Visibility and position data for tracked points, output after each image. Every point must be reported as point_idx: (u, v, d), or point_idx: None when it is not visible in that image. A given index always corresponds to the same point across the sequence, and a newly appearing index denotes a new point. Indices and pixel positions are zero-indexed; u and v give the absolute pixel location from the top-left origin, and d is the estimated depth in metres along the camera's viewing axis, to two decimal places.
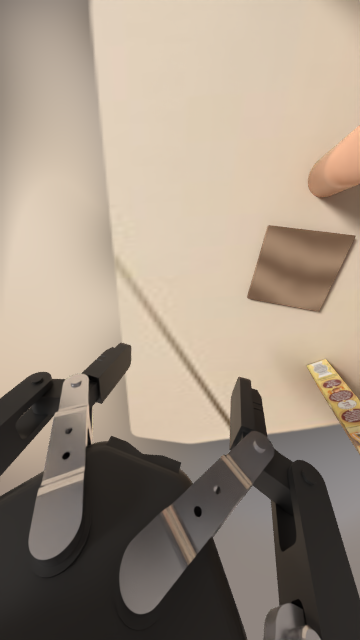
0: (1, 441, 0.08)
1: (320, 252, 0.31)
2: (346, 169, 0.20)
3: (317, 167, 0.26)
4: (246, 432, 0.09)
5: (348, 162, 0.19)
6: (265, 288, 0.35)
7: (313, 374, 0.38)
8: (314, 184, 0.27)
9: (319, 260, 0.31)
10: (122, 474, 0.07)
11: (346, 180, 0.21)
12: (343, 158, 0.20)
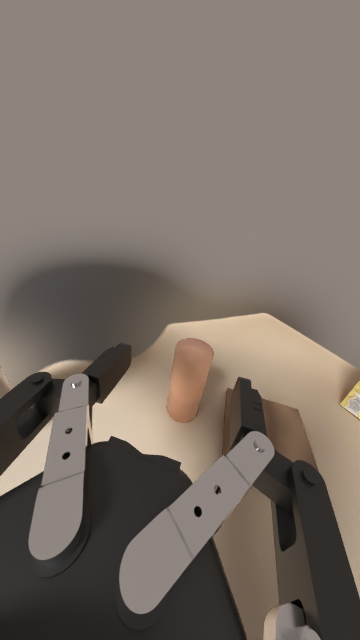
0: (1, 441, 0.08)
1: None
2: (202, 376, 0.26)
3: (179, 410, 0.29)
4: (246, 432, 0.09)
5: (200, 374, 0.25)
6: None
7: None
8: (190, 413, 0.30)
9: None
10: (122, 474, 0.07)
11: (205, 380, 0.27)
12: (194, 379, 0.26)
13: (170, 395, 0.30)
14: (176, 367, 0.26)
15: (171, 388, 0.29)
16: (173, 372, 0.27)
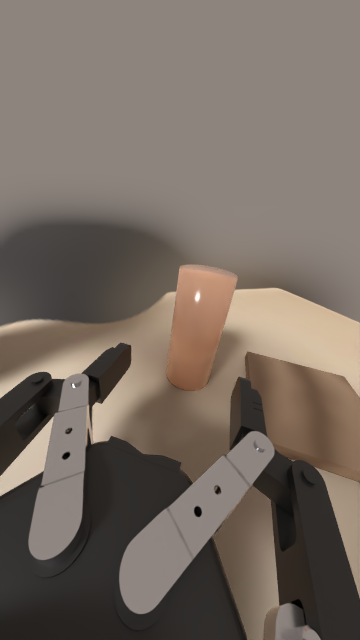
0: (1, 441, 0.08)
1: (273, 375, 0.24)
2: (221, 311, 0.17)
3: (185, 370, 0.20)
4: (246, 432, 0.09)
5: (218, 304, 0.16)
6: None
7: None
8: (200, 376, 0.20)
9: (282, 376, 0.24)
10: (122, 474, 0.07)
11: (224, 321, 0.18)
12: (209, 313, 0.17)
13: (171, 350, 0.20)
14: (180, 298, 0.17)
15: (173, 338, 0.20)
16: (176, 310, 0.18)
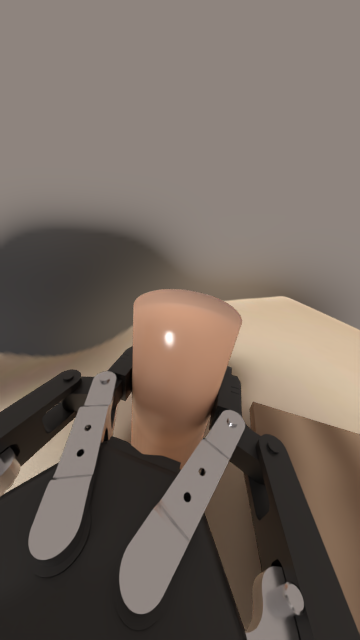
0: (27, 432, 0.08)
1: (293, 450, 0.16)
2: (210, 384, 0.09)
3: None
4: (222, 412, 0.10)
5: (203, 377, 0.08)
6: None
7: None
8: None
9: (307, 450, 0.16)
10: (122, 474, 0.07)
11: (217, 393, 0.10)
12: (187, 391, 0.09)
13: (132, 426, 0.13)
14: (135, 357, 0.09)
15: (132, 411, 0.12)
16: (133, 372, 0.10)
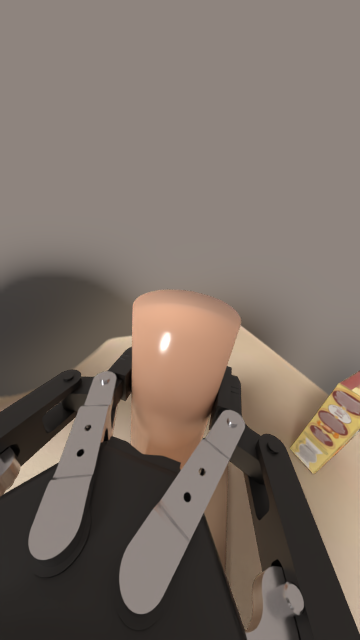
0: (27, 432, 0.08)
1: None
2: (209, 384, 0.09)
3: None
4: (222, 412, 0.10)
5: (202, 377, 0.08)
6: None
7: (322, 461, 0.26)
8: None
9: None
10: (122, 474, 0.07)
11: (216, 393, 0.10)
12: (186, 392, 0.09)
13: (132, 427, 0.13)
14: (134, 358, 0.09)
15: (132, 411, 0.12)
16: (132, 372, 0.10)
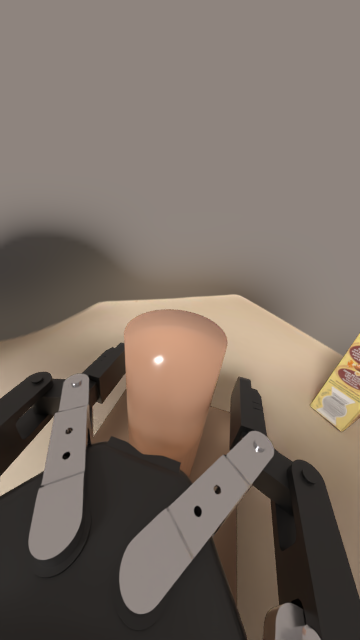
0: (1, 441, 0.08)
1: None
2: (198, 404, 0.09)
3: None
4: (246, 432, 0.09)
5: (191, 399, 0.09)
6: None
7: (354, 413, 0.21)
8: None
9: None
10: (122, 474, 0.07)
11: (207, 410, 0.11)
12: (176, 413, 0.09)
13: (129, 440, 0.13)
14: (127, 380, 0.10)
15: (128, 426, 0.12)
16: (127, 391, 0.11)
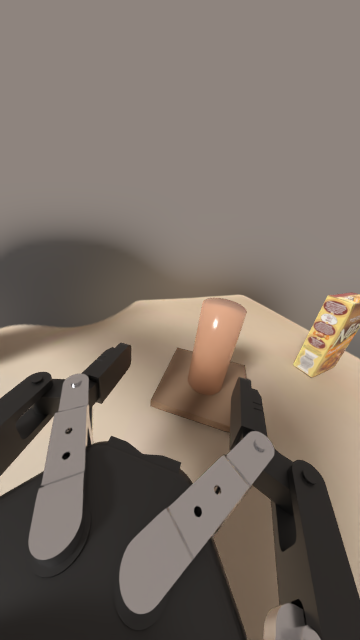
0: (1, 441, 0.08)
1: (187, 364, 0.32)
2: (234, 336, 0.23)
3: (205, 380, 0.26)
4: (246, 432, 0.09)
5: (232, 332, 0.22)
6: (229, 408, 0.25)
7: (317, 363, 0.34)
8: (217, 384, 0.26)
9: None
10: (122, 474, 0.07)
11: None
12: (225, 338, 0.22)
13: (194, 363, 0.26)
14: (203, 326, 0.23)
15: (195, 354, 0.26)
16: (199, 334, 0.24)
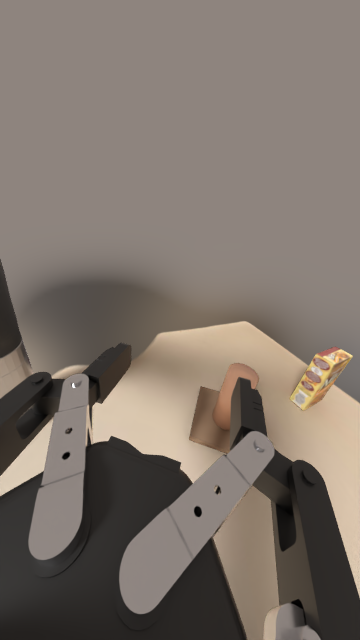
0: (1, 441, 0.08)
1: (210, 402, 0.43)
2: None
3: (227, 421, 0.36)
4: (246, 432, 0.09)
5: None
6: None
7: (308, 401, 0.44)
8: None
9: None
10: (122, 474, 0.07)
11: None
12: None
13: (219, 408, 0.37)
14: (229, 387, 0.34)
15: (221, 403, 0.36)
16: (225, 391, 0.35)
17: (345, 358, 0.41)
